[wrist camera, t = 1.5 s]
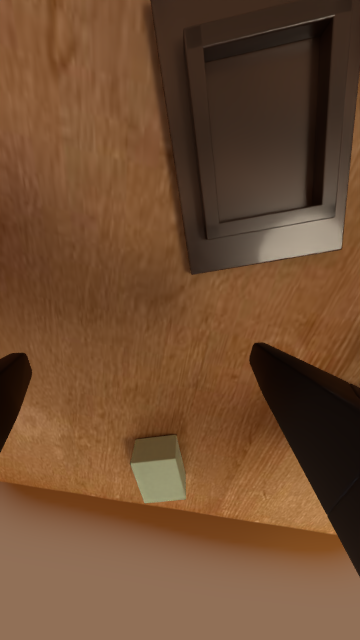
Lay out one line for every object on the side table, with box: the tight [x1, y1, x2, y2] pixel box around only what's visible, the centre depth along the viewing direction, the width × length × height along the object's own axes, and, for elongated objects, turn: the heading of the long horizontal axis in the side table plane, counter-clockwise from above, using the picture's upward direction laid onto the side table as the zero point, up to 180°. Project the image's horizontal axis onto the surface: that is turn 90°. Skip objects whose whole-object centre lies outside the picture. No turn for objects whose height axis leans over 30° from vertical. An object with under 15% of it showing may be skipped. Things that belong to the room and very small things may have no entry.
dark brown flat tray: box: [151, 0, 360, 275], centre depth 14 cm, size 16×12×2 cm
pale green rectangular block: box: [130, 435, 186, 503], centre depth 26 cm, size 7×5×3 cm
